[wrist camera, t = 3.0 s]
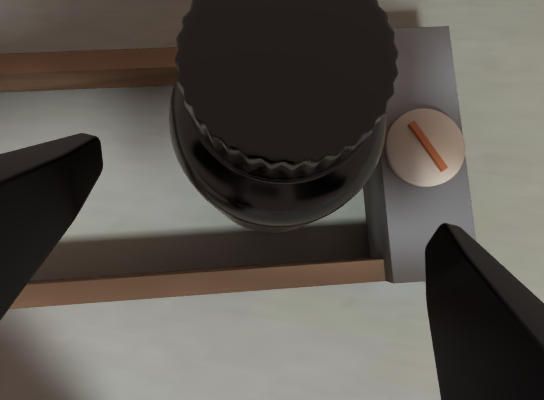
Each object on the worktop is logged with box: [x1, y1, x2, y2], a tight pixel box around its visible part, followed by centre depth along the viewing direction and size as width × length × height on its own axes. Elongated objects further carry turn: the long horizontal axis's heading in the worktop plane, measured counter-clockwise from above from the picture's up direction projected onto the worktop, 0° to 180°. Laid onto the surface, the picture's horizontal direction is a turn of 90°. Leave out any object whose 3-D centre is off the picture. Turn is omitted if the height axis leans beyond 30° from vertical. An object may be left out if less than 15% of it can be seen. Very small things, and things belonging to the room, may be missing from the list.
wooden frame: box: [0, 26, 476, 309], centre depth 17 cm, size 12×31×4 cm, turn 94°
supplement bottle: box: [169, 0, 399, 233], centre depth 13 cm, size 7×7×12 cm
